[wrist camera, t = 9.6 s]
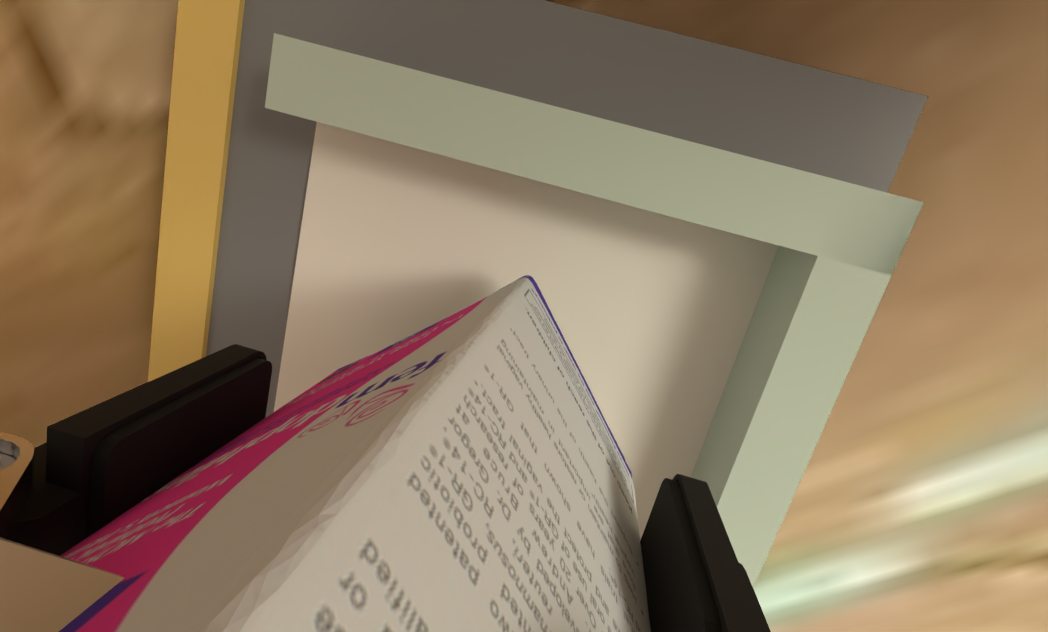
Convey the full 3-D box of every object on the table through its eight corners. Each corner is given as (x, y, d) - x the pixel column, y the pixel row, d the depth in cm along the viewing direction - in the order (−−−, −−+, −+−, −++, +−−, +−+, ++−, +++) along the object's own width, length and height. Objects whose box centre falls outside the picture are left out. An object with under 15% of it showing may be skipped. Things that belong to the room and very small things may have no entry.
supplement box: (527, 260, 13) (73, 820, 2) (635, 472, 13) (847, 1788, 2) (326, 361, 14) (-752, 1084, 3) (438, 550, 15) (-23, 1662, 4)
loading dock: (263, -39, 16) (102, -150, 11) (863, 113, 15) (1011, 73, 10) (198, 523, 21) (67, 636, 16) (645, 662, 20) (665, 832, 15)
